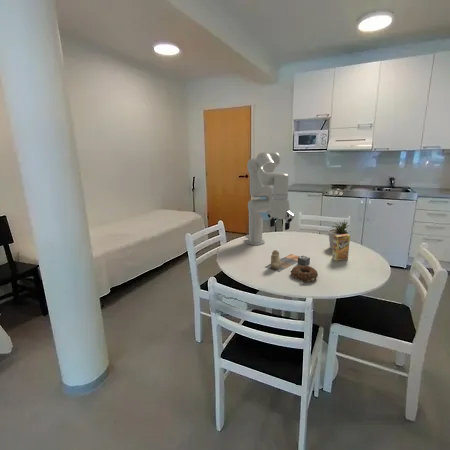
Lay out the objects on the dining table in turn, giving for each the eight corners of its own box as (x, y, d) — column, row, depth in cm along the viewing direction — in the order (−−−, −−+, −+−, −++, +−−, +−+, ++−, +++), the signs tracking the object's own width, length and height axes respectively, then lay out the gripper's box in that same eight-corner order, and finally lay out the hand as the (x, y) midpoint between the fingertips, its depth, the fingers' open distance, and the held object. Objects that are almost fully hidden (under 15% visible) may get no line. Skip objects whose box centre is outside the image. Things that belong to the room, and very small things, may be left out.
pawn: (268, 267, 166) (269, 250, 164) (274, 265, 170) (274, 248, 167) (276, 270, 163) (276, 252, 160) (281, 267, 166) (282, 250, 164)
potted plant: (342, 253, 189) (345, 223, 184) (323, 248, 199) (325, 219, 194) (352, 249, 196) (355, 220, 191) (333, 244, 207) (336, 216, 202)
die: (297, 265, 171) (297, 257, 170) (301, 263, 175) (302, 255, 173) (305, 268, 168) (305, 259, 166) (309, 265, 171) (310, 257, 170)
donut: (295, 270, 165) (295, 262, 164) (320, 275, 159) (320, 266, 157) (286, 280, 153) (287, 271, 152) (313, 286, 147) (314, 277, 145)
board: (264, 268, 168) (264, 267, 167) (291, 255, 187) (291, 254, 187) (278, 273, 161) (278, 272, 161) (305, 259, 180) (305, 258, 180)
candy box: (335, 261, 177) (338, 236, 173) (331, 258, 181) (333, 234, 177) (348, 259, 179) (350, 235, 175) (343, 256, 183) (345, 233, 179)
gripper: (263, 196, 160) (262, 226, 165) (290, 199, 148) (289, 232, 153) (271, 194, 165) (271, 224, 170) (298, 197, 153) (297, 229, 158)
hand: (279, 227), depth 161 cm, fingers open, 9 cm apart
